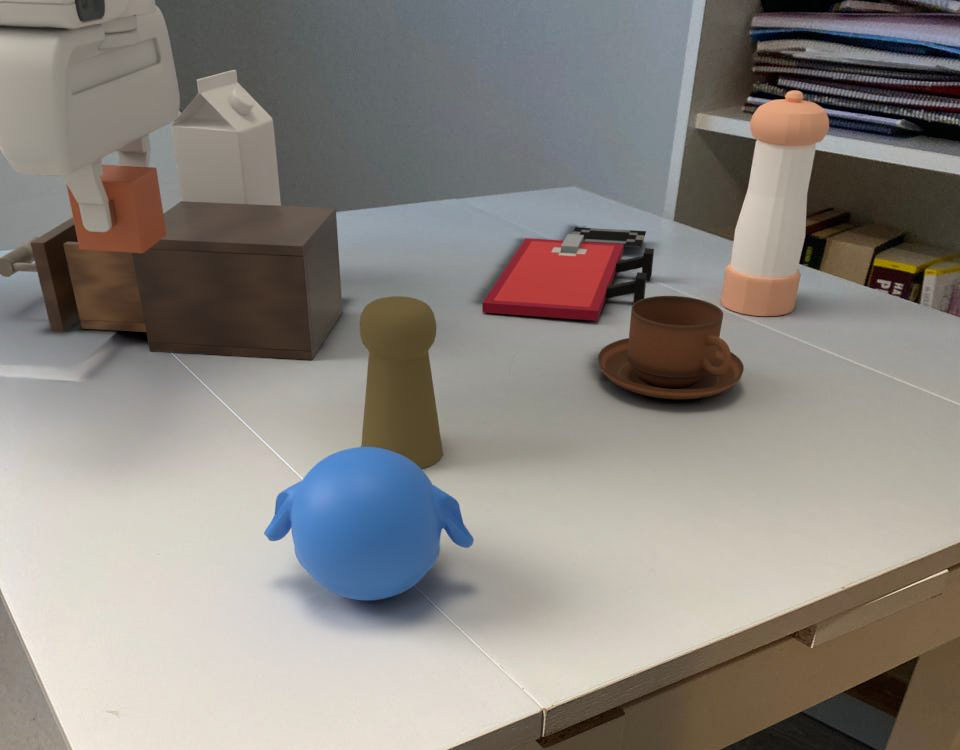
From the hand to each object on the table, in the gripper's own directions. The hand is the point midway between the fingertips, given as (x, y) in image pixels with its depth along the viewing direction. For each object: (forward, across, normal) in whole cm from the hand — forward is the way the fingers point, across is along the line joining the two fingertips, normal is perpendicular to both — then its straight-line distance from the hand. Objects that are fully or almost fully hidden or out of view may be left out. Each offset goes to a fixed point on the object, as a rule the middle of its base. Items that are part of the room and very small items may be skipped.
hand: (118, 218), depth 69 cm
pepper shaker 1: (+14, +4, +20) cm, 25 cm away
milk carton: (+15, -33, -3) cm, 37 cm away
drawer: (+14, -19, -10) cm, 26 cm away
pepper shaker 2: (+14, -35, +50) cm, 62 cm away
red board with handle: (+14, -42, +32) cm, 54 cm away
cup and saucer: (+14, -13, +40) cm, 44 cm away
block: (+2, 0, 0) cm, 2 cm away
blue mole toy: (+14, +20, +21) cm, 32 cm away
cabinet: (+15, -19, +2) cm, 24 cm away
